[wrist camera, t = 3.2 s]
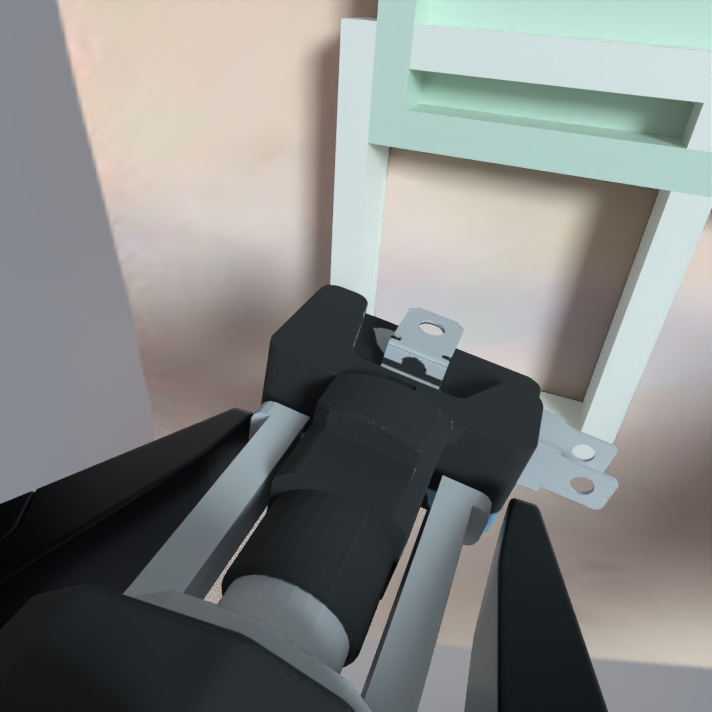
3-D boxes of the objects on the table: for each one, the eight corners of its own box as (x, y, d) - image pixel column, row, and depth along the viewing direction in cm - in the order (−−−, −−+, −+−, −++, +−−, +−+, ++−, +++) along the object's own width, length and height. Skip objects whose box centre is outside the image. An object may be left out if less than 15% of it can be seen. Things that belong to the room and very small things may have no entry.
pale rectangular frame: (757, 52, 13) (775, 57, 12) (600, 440, 20) (598, 477, 19) (368, 17, 16) (341, 18, 15) (346, 368, 23) (325, 394, 21)
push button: (682, 337, 9) (1097, 2128, 1) (551, 528, 12) (456, 1432, 5) (325, 208, 11) (-521, 812, 3) (287, 412, 14) (-154, 972, 6)
